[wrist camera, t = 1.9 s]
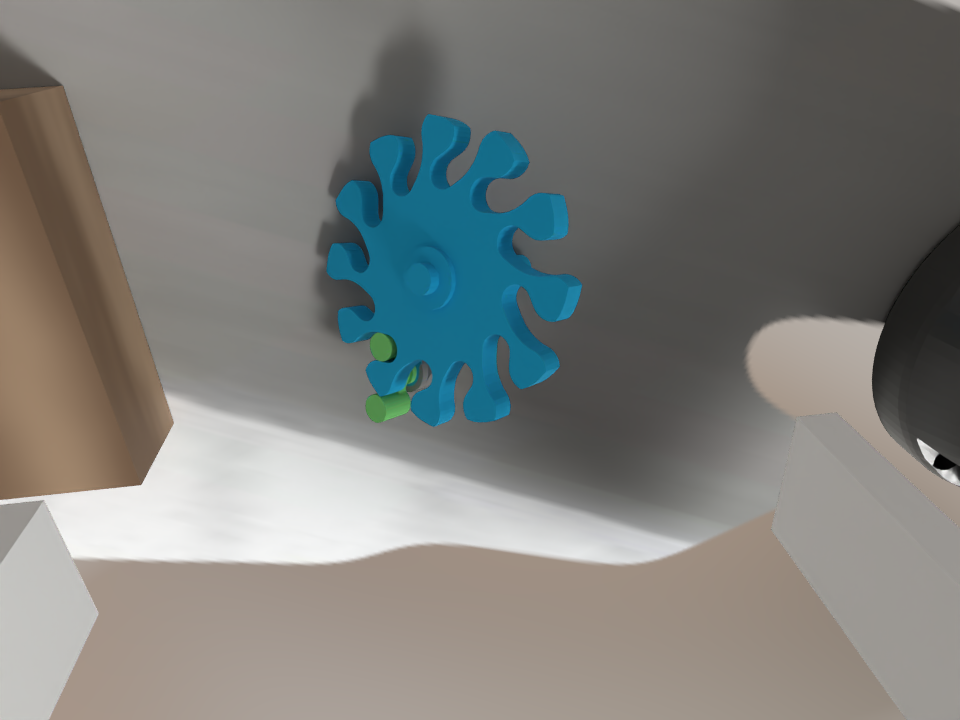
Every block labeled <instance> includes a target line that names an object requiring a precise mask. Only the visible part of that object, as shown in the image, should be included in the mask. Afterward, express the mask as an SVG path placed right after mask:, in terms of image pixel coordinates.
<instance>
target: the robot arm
mask: <svg viewBox="0 0 960 720" xmlns="http://www.w3.org/2000/svg"><path fill="white" fill-rule="evenodd" d="M872 389H873V398H874V403H875V407H876V410H877V413H878V416H879V418H880V420H881V422H882V424H883V426H884V427H885V429H886V431H887V432H888V433H889V434H890V436H891V437H892V438H893V439H894V440H895V441H896V442H897V443H898V444H899V445H901V446H902V447H903V448H904V449H905V450H906V451H907V452H908V453H909V454H911V455H912V456H913V457H914V458H915V459H916V460H917V461H919V462H920V463H921V464H922V465H923V466H924V467H926V468H927V469H928V470H929V471H931V472H932V473H934V474H936V475H937V476H939V477H940V478H942V479H944V480H946V481H948V482H950V483H952V484H954V485H956V486H959V487H960V226H959V227H957V228H956V229H955V230H954V231H953V232H952V233H951V234H950V235H949V236H948V237H946V238H945V239H944V240H943V241H942V242H941V243H940V244H939V245H938V246H937V247H936V249H935V250H934V251H933V252H932V253H931V254H930V255H929V256H928V257H927V259H926V260H925V261H924V262H923V263H922V264H921V266H920V267H919V268H918V269H917V271H916V272H915V273H914V275H913V276H912V277H911V279H910V280H909V282H908V283H907V285H906V286H905V287H904V289H903V291H902V292H901V294H900V295H899V297H898V299H897V301H896V302H895V304H894V306H893V308H892V310H891V312H890V314H889V316H888V318H887V320H886V322H885V325H884V327H883V330H882V333H881V335H880V339H879V342H878V345H877V349H876V353H875V357H874V364H873V374H872ZM771 530H772V531H773V533H774V534H775V536H776V537H777V538H778V540H779V541H780V543H781V544H782V546H783V547H784V548H785V550H786V551H787V553H788V554H789V555H790V557H791V558H792V560H793V561H794V562H795V564H796V565H797V567H798V568H799V569H800V571H801V572H802V573H803V575H804V576H805V578H806V579H807V580H808V582H809V584H810V585H811V586H812V588H813V589H814V590H815V592H816V593H817V595H818V596H819V598H820V599H821V600H822V602H823V603H824V605H825V606H826V607H827V609H828V610H829V612H830V613H831V614H832V616H833V617H834V619H835V620H836V621H837V623H838V624H839V626H840V627H841V629H842V630H843V631H844V633H845V634H846V636H847V637H848V638H849V640H850V641H851V643H852V644H853V645H854V647H855V648H856V649H857V651H858V652H859V654H860V655H861V657H862V658H863V659H864V661H865V662H866V664H867V665H868V666H869V668H870V669H871V671H872V672H873V674H874V675H875V676H876V678H877V679H878V681H879V682H880V683H881V685H882V686H883V688H884V689H885V690H886V692H887V693H888V694H889V696H890V697H891V699H892V700H893V702H894V703H895V704H896V706H897V707H898V709H899V710H900V711H901V713H902V714H903V716H904V717H905V719H906V720H960V528H959V527H958V526H957V525H956V524H955V523H954V522H953V521H952V520H950V518H948V516H946V515H945V514H944V513H943V512H942V511H941V510H940V509H939V508H938V507H936V505H935V504H934V503H933V502H932V501H930V500H929V499H928V498H927V497H926V496H925V495H924V494H923V493H922V492H921V491H920V490H919V489H918V488H917V487H916V486H914V485H913V484H912V483H911V482H910V481H909V480H908V479H907V478H906V477H905V476H903V474H902V473H901V472H900V471H898V470H897V469H896V468H895V467H894V466H893V465H892V464H891V463H890V462H889V461H888V460H887V459H886V458H885V457H883V456H882V455H881V454H880V453H879V452H878V451H877V450H876V449H875V448H874V447H873V446H872V445H871V444H870V443H869V442H867V441H866V440H865V439H864V438H863V437H862V436H861V435H860V434H859V433H858V432H857V431H856V430H855V429H854V428H853V427H852V426H850V425H849V424H848V423H847V422H846V421H845V420H844V419H843V418H842V417H841V416H840V415H839V414H838V413H828V414H819V415H809V416H800V417H797V418H796V422H795V427H794V431H793V436H792V440H791V444H790V449H789V453H788V458H787V462H786V467H785V471H784V475H783V480H782V484H781V489H780V493H779V497H778V502H777V506H776V511H775V515H774V519H773V524H772V529H771ZM98 614H99V613H98V611H97V609H96V607H95V605H94V603H93V600H92V598H91V596H90V594H89V592H88V590H87V588H86V586H85V584H84V582H83V580H82V578H81V576H80V573H79V571H78V569H77V567H76V565H75V563H74V561H73V559H72V557H71V555H70V553H69V551H68V549H67V547H66V545H65V542H64V540H63V538H62V536H61V534H60V532H59V530H58V528H57V526H56V524H55V522H54V520H53V518H52V516H51V513H50V511H49V509H48V507H47V505H46V503H45V501H44V500H42V501H33V502H24V503H15V504H6V505H0V720H49V718H50V716H51V714H52V712H53V710H54V707H55V705H56V703H57V701H58V699H59V697H60V695H61V692H62V690H63V688H64V686H65V684H66V682H67V680H68V678H69V676H70V673H71V671H72V669H73V667H74V665H75V663H76V661H77V658H78V657H79V654H80V652H81V650H82V648H83V646H84V643H85V642H86V640H87V637H88V635H89V633H90V631H91V629H92V627H93V625H94V623H95V620H96V618H97V616H98Z"/></svg>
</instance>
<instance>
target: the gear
mask: <svg viewBox="0 0 960 720" xmlns="http://www.w3.org/2000/svg"><path fill="white" fill-rule="evenodd" d="M421 135H422V143H423V154H422V162H421V166H420V171H419V173H418V176H417V178H416V181H415V183H414V185H413V187H412V189H411V191H409V189H408V186H407V176H408V173H409V171H410V169H411V167H412V164H413V162H414V159H415V145H414V142H413V140H412V138H409V137H402V136H395V135H386V136H383V137H380V138H378V139H376V140H374V141H372V142H371V143H370V158H371V161H372V163H373V165H374V166H375V168H376V170H377V172H378V175H379V177H380V181H381V184H382V190H383V217H382V221H380V219H379V214H378V203H379V200H378V192H377V190H376V188H375V186H374V185H373V184H372V183H371V182H369V181H357V180H351V181H350V182H348V183H347V184H346V185H345V186H344V187H343V189H342V190H341V192H340V193H339V195H338V197H337V199H336V206H337V208H338V210H339V212H340V213H341V214H342V215H343V216H344V217H346V218H347V219H349V220H350V221H351V222H352V223H354V225H355V226H356V227H357V228H358V230H359V231H360V233H361V235H362V237H363V239H364V241H365V244H366V247H367V249H368V252H369V256H370V263H369V266H368V264H367V261H366V258H365V256H364V253H363V251H362V249H361V248H360V246H358V245H357V244H355V243H334V244H332V246H331V248H330V251H329V255H328V261H327V270H326V271H327V273H328V275H329V276H330V277H331V278H333V279H335V280H341V279H346V280H350V281H353V282H355V283H357V284H358V285H360V286H361V287H362V288H363V289H364V290H365V291H366V292H367V293H368V294H369V295H370V296H371V297H372V299H373V301H374V304H375V313H373V312H372V311H371V310H370V309H369V308H368V307H366V306H363V305H360V306H353V307H346V308H341V309H340V310H339V311H338V324H339V330H340V334H341V338H342V341H344V342H346V343H353V342H358V341H363V340H368V339H370V338H371V337H372V338H371V340H370V349H371V353H372V355H373V356H374V357H375V359H377V360H375V361H372V362H370V363H369V364H368V366H367V368H366V373H367V376H368V378H369V380H370V383H371V384H372V386H373V387H374V389H375V390H376V392H377V394H374V395H371V396H369V397H368V398H367V400H366V412H367V414H368V416H369V418H370V419H371V420H372V421H374V422H376V423H380V422H383V421H386V420H389V419H392V418H394V417H397V416H400V415H403V414H406V413H407V412H408V411H409V409H410V406H411V411H412V412H413V413H414V414H415V415H416V416H417V417H418V418H419V419H421V420H422V421H424V422H425V423H427V424H429V425H431V426H433V427H435V426H437V425H440V424H442V423H445V422H448V421H449V420H451V419H452V417H453V415H454V412H455V402H454V388H455V382H456V379H457V376H458V374H459V372H460V370H461V368H462V366H463V365H464V363H466V364H467V365H468V366H469V367H470V369H471V371H472V373H473V384H472V386H471V388H470V390H469V391H468V393H467V394H466V396H465V398H464V402H463V409H464V413H465V416H466V418H467V419H468V420H470V421H473V422H490V421H495V420H498V419H500V418H502V417H505V416H507V415H509V413H510V408H511V404H510V399H509V397H508V395H507V393H506V391H505V390H504V388H503V386H502V383H501V381H500V378H499V374H498V369H497V344H498V339H499V337H500V336H502V337H503V338H504V339H505V340H506V341H507V343H508V345H509V349H510V360H509V372H510V376H511V379H512V381H513V382H514V384H515V385H516V386H517V387H518V388H520V389H524V388H527V387H530V386H533V385H535V384H538V383H540V382H542V381H544V380H546V379H547V378H549V377H550V376H551V375H552V374H553V373H554V372H555V371H556V370H557V369H558V368H559V367H560V364H559V360H558V357H557V355H556V354H555V352H554V351H553V350H552V349H551V348H549V347H547V346H546V345H544V344H542V343H541V342H540V341H539V340H538V339H536V338H535V337H534V335H533V334H532V333H531V332H530V331H529V329H528V327H527V326H526V324H525V322H524V320H523V318H522V316H521V313H520V310H519V308H518V305H517V301H516V296H517V292H518V289H519V288H520V287H521V286H522V287H523V288H525V290H526V291H527V292H528V294H529V296H530V299H531V302H532V304H533V307H534V309H535V311H536V313H537V314H538V315H539V316H540V317H541V318H542V319H544V320H546V321H550V322H556V321H560V320H564V319H568V318H569V317H570V316H571V315H572V313H573V312H574V310H575V308H576V306H577V303H578V300H579V297H580V293H581V288H582V284H581V282H580V281H579V280H578V279H577V278H576V277H574V276H572V275H569V274H561V275H551V274H546V273H542V272H539V271H537V270H535V269H533V268H532V267H531V263H530V261H529V259H528V258H527V257H525V256H524V255H516V253H515V252H514V250H513V246H512V238H513V235H514V233H515V231H516V230H517V229H518V228H520V229H521V230H522V231H523V232H524V233H526V234H527V235H528V236H529V237H531V238H532V239H535V240H556V239H561V238H563V237H565V236H566V235H567V234H568V227H569V223H568V212H567V206H566V202H565V198H564V196H563V195H560V194H549V193H537V194H534V195H532V196H531V197H529V198H528V199H527V200H526V201H525V202H524V203H523V204H522V205H520V206H519V207H517V208H516V209H513V210H511V211H509V212H505V213H497V212H494V211H492V210H491V209H490V208H489V206H488V205H487V202H486V190H487V187H488V185H489V184H490V183H491V182H492V181H493V180H495V179H498V178H504V179H515V178H517V177H519V176H521V175H522V174H523V173H524V172H525V171H526V169H527V168H528V165H529V163H530V162H529V159H528V156H527V154H526V152H525V150H524V148H523V147H522V146H521V144H520V143H519V142H518V141H517V139H516V138H515V137H514V136H513V135H512V134H511V133H506V132H501V131H492V132H490V133H489V134H487V135H486V136H485V137H484V139H483V140H482V142H481V144H480V147H479V150H478V153H477V156H476V158H475V160H474V163H473V164H472V166H471V167H470V169H469V171H468V172H467V173H466V174H465V175H464V176H463V177H462V178H461V179H460V180H459V181H457V182H456V183H455V184H453V185H452V186H450V185H449V184H448V182H447V178H446V170H447V167H448V164H449V163H450V161H451V160H453V159H454V158H455V157H457V156H458V155H459V154H461V153H462V152H463V151H464V150H465V149H466V148H467V146H468V144H469V141H470V135H471V130H470V128H469V127H468V126H467V125H466V124H465V123H463V122H461V121H459V120H456V119H452V118H447V117H442V116H437V115H431V114H428V115H427V116H426V117H425V119H424V122H423V124H422V131H421ZM377 332H379V333H377ZM429 385H430V386H429ZM427 386H429V387H428V388H426V389H424V390H422V391H419V392H417V393H416V394H415V395H414V396H413V398H412V401H410V397H409V395H408V393H407V392H412V391H416V390H419V389H422V388H425V387H427Z"/></svg>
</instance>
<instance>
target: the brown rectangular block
mask: <svg viewBox="0 0 960 720" xmlns="http://www.w3.org/2000/svg"><path fill="white" fill-rule="evenodd" d="M173 424H174V422H173V419H172V416H171V413H170V410H169V407H168V404H167V401H166V398H165V395H164V392H163V389H162V386H161V383H160V379H159V376H158V373H157V370H156V367H155V364H154V361H153V358H152V355H151V352H150V349H149V346H148V343H147V340H146V337H145V334H144V331H143V328H142V325H141V322H140V319H139V316H138V313H137V310H136V306H135V303H134V300H133V297H132V294H131V291H130V288H129V285H128V282H127V279H126V276H125V273H124V270H123V267H122V264H121V261H120V258H119V255H118V252H117V249H116V246H115V243H114V240H113V237H112V233H111V230H110V227H109V224H108V221H107V218H106V215H105V212H104V209H103V206H102V203H101V200H100V197H99V194H98V191H97V188H96V185H95V182H94V179H93V176H92V173H91V170H90V167H89V164H88V161H87V157H86V154H85V151H84V148H83V145H82V142H81V139H80V136H79V133H78V130H77V127H76V124H75V121H74V118H73V115H72V112H71V109H70V106H69V103H68V100H67V97H66V94H65V91H64V88H63V86H49V87H32V88H16V89H0V500H3V499H13V498H22V497H32V496H41V495H51V494H60V493H70V492H79V491H89V490H98V489H108V488H117V487H127V486H136V485H141V484H142V482H143V481H144V479H145V477H146V475H147V473H148V471H149V469H150V467H151V465H152V463H153V462H154V460H155V458H156V456H157V454H158V452H159V450H160V448H161V446H162V444H163V443H164V441H165V439H166V437H167V435H168V433H169V431H170V429H171V427H172V426H173Z"/></svg>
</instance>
